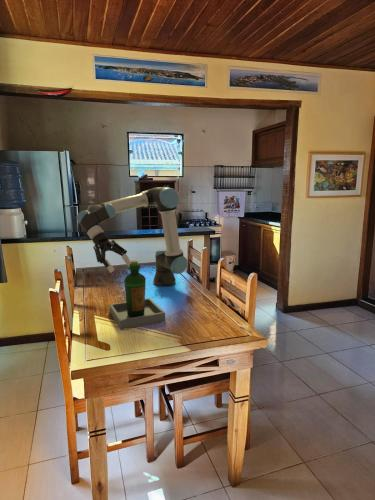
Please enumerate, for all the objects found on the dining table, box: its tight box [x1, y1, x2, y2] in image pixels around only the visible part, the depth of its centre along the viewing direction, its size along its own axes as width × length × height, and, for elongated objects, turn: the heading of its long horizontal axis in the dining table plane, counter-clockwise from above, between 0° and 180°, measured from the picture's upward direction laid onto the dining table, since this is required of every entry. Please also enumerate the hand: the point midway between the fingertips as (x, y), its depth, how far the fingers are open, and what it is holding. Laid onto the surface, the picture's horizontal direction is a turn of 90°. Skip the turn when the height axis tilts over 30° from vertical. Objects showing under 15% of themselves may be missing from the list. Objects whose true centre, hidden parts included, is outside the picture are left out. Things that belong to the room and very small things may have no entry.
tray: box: [108, 297, 166, 331], centre depth 162 cm, size 22×22×4 cm
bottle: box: [123, 260, 147, 317], centre depth 159 cm, size 11×11×28 cm
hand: (121, 268), depth 161 cm, fingers open, 13 cm apart
